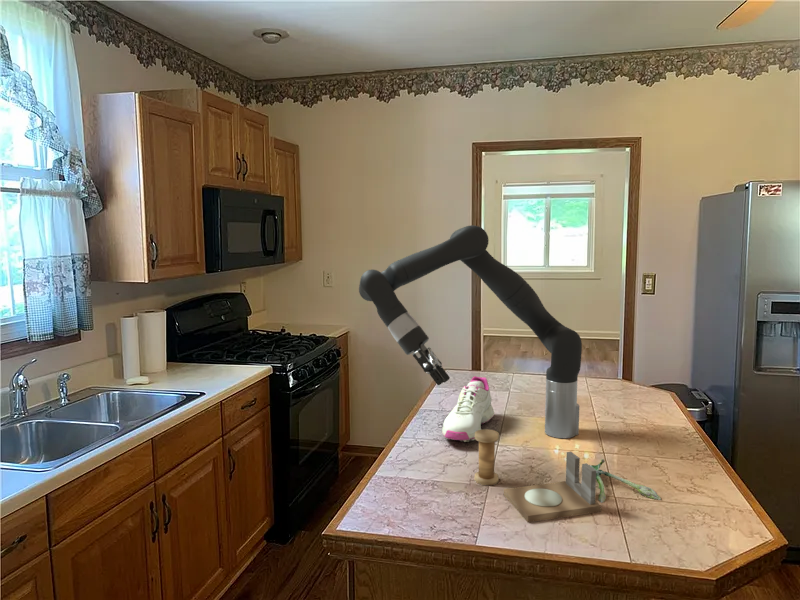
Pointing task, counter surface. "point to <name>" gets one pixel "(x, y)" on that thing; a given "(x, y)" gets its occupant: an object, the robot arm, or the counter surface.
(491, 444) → the bobbin
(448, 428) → the golf shoe
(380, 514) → the counter surface
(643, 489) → the plant
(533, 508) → the board
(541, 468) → the counter surface
